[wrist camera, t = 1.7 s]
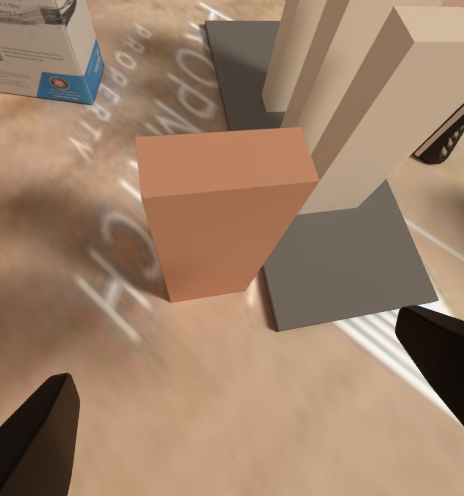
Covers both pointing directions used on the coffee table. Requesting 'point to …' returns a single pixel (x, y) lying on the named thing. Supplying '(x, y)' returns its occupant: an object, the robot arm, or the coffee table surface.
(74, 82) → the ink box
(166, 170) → the terracotta domino
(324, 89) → the ivory domino
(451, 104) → the ivory domino
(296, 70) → the ivory domino
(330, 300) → the domino mat
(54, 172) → the coffee table surface
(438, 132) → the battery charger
